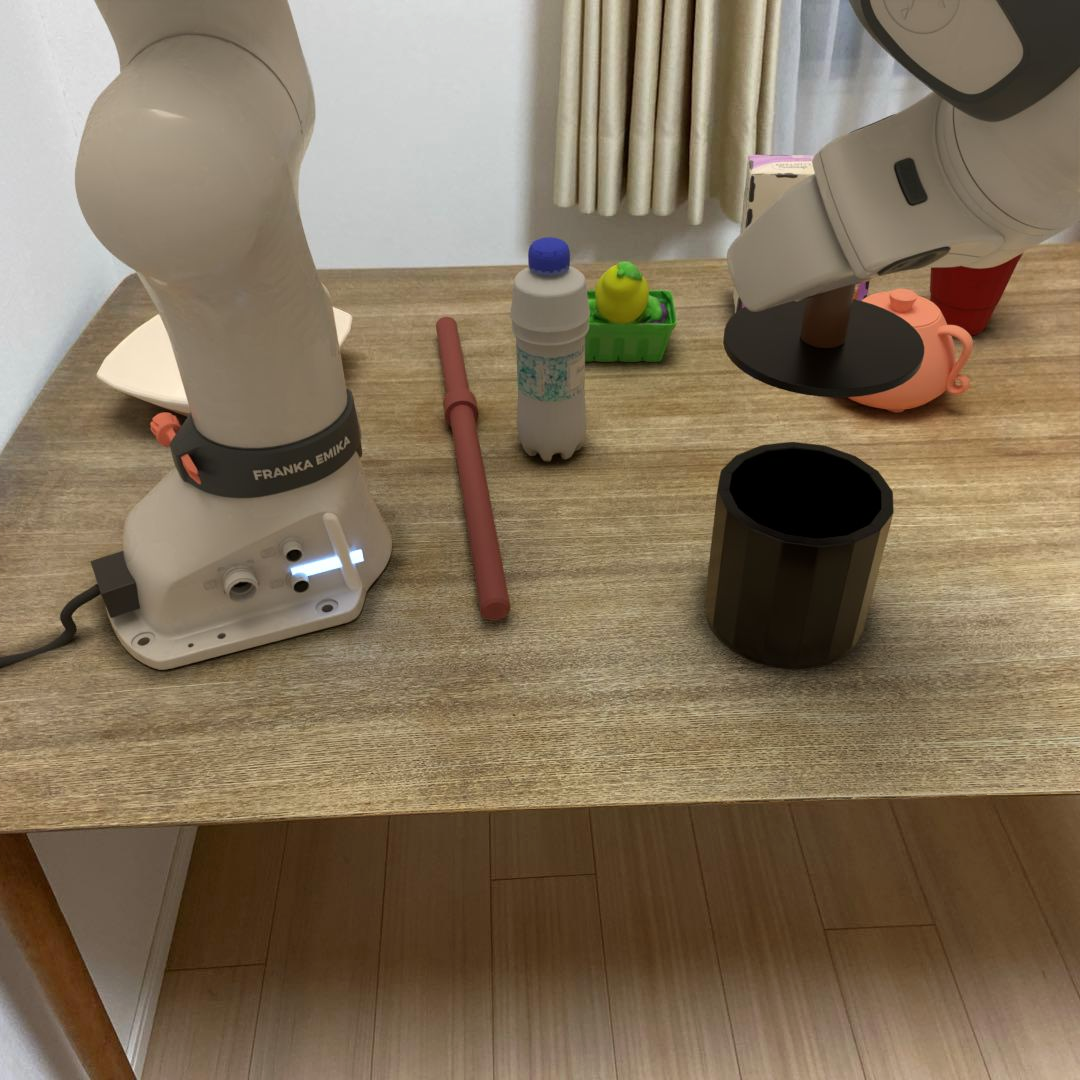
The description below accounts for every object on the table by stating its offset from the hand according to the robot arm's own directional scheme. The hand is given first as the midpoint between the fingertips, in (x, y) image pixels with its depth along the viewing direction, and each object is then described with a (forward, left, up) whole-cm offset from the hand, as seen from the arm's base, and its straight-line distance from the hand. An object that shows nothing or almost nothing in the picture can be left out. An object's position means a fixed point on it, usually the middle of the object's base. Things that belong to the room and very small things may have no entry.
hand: (824, 280), depth 63 cm
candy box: (+32, +33, -26) cm, 53 cm away
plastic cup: (+44, +21, -26) cm, 56 cm away
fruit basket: (+10, +36, -26) cm, 46 cm away
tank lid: (0, -1, -4) cm, 4 cm away
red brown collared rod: (-12, +28, -26) cm, 40 cm away
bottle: (-5, +25, -26) cm, 36 cm away
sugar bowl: (+28, +15, -26) cm, 41 cm away
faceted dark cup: (-2, -3, -25) cm, 26 cm away
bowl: (-26, +51, -26) cm, 63 cm away
